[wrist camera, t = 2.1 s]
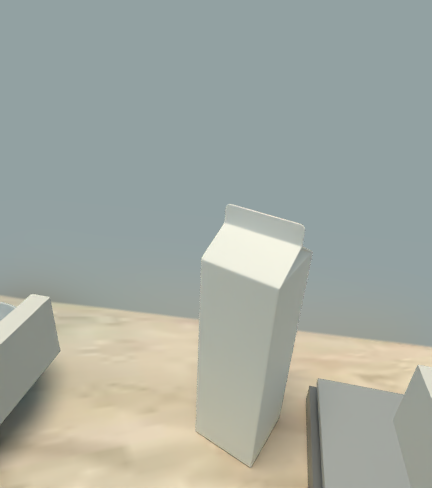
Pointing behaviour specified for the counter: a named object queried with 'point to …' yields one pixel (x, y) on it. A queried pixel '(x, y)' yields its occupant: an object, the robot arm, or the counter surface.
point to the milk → (248, 327)
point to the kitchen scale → (353, 437)
